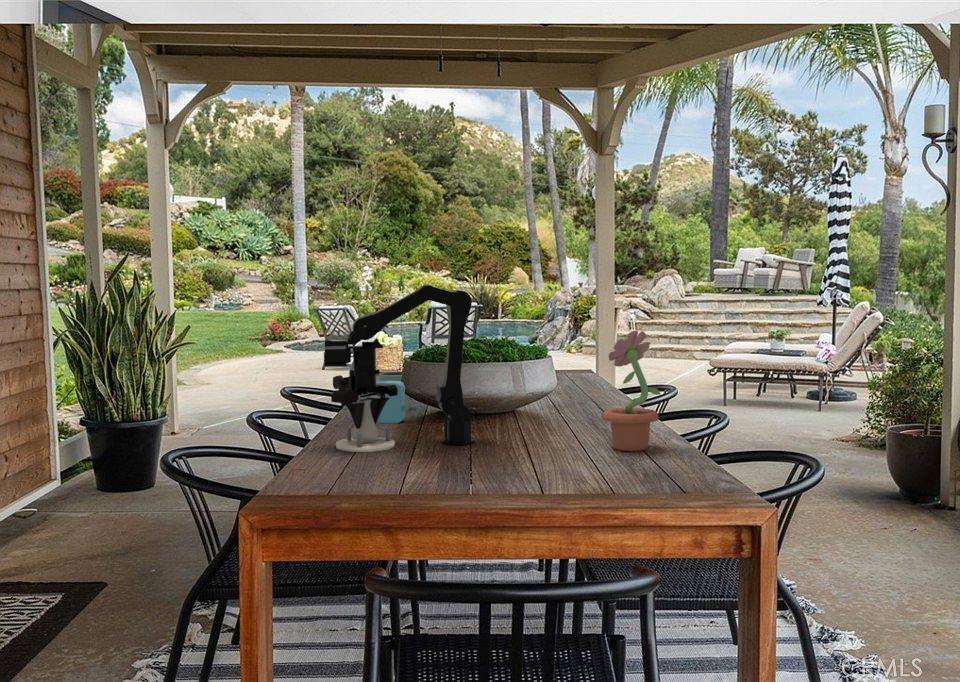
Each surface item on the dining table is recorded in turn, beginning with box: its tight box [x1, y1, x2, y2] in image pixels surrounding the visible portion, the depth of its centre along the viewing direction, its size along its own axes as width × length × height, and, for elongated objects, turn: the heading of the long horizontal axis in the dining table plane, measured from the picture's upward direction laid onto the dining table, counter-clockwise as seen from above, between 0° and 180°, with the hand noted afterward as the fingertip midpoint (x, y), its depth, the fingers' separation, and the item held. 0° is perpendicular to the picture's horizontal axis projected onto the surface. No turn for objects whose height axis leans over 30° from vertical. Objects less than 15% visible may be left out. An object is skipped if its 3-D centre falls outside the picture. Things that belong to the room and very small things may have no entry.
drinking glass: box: [378, 370, 411, 412], centre depth 291 cm, size 10×10×12 cm
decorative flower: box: [602, 330, 661, 452], centre depth 228 cm, size 15×14×30 cm
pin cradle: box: [335, 427, 396, 453], centre depth 233 cm, size 15×15×4 cm
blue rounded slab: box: [361, 380, 406, 424], centre depth 270 cm, size 12×4×12 cm, turn 79°
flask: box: [351, 398, 380, 440], centre depth 233 cm, size 7×7×10 cm
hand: (365, 426), depth 233 cm, fingers closed on flask, 5 cm apart
